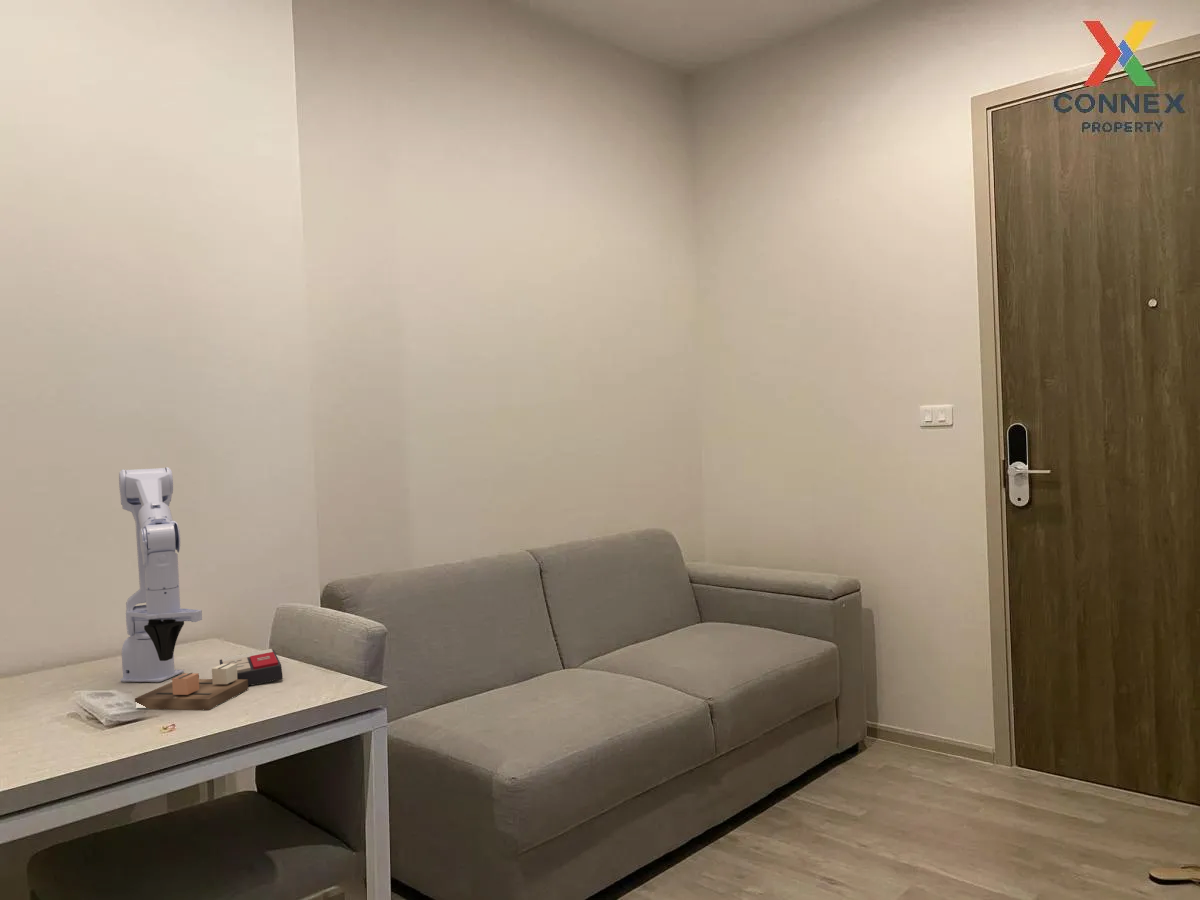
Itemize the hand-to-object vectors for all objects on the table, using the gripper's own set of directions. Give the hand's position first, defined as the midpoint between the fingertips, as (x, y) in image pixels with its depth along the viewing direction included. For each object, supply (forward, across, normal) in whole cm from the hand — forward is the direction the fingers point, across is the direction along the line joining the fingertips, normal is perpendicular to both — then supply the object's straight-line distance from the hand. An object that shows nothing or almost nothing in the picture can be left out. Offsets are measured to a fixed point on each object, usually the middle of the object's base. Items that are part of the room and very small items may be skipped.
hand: (166, 659), depth 170 cm
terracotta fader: (+6, +4, 0) cm, 7 cm away
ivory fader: (+6, +8, +7) cm, 12 cm away
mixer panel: (+8, +3, +3) cm, 9 cm away
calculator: (+9, +6, +18) cm, 21 cm away
